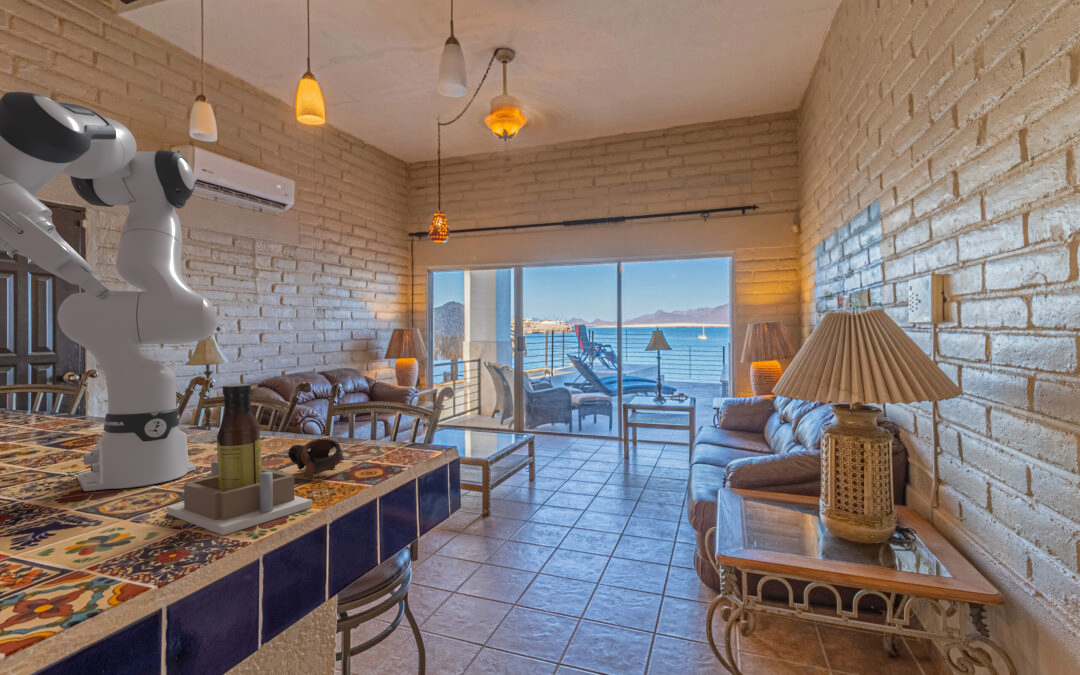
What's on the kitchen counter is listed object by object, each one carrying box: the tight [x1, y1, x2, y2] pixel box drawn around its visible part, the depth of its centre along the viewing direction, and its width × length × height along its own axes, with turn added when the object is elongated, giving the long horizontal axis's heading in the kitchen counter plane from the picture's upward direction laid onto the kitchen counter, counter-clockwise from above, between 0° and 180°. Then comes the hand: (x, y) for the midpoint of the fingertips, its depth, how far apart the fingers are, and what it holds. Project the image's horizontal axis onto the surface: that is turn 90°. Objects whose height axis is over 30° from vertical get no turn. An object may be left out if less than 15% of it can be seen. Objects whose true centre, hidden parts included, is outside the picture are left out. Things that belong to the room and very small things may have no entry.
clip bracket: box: [166, 460, 313, 536], centre depth 82 cm, size 18×14×7 cm
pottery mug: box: [287, 437, 345, 480], centre depth 106 cm, size 12×10×8 cm
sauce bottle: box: [216, 383, 263, 492], centre depth 82 cm, size 7×6×20 cm
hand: (103, 294), depth 74 cm, fingers open, 8 cm apart
